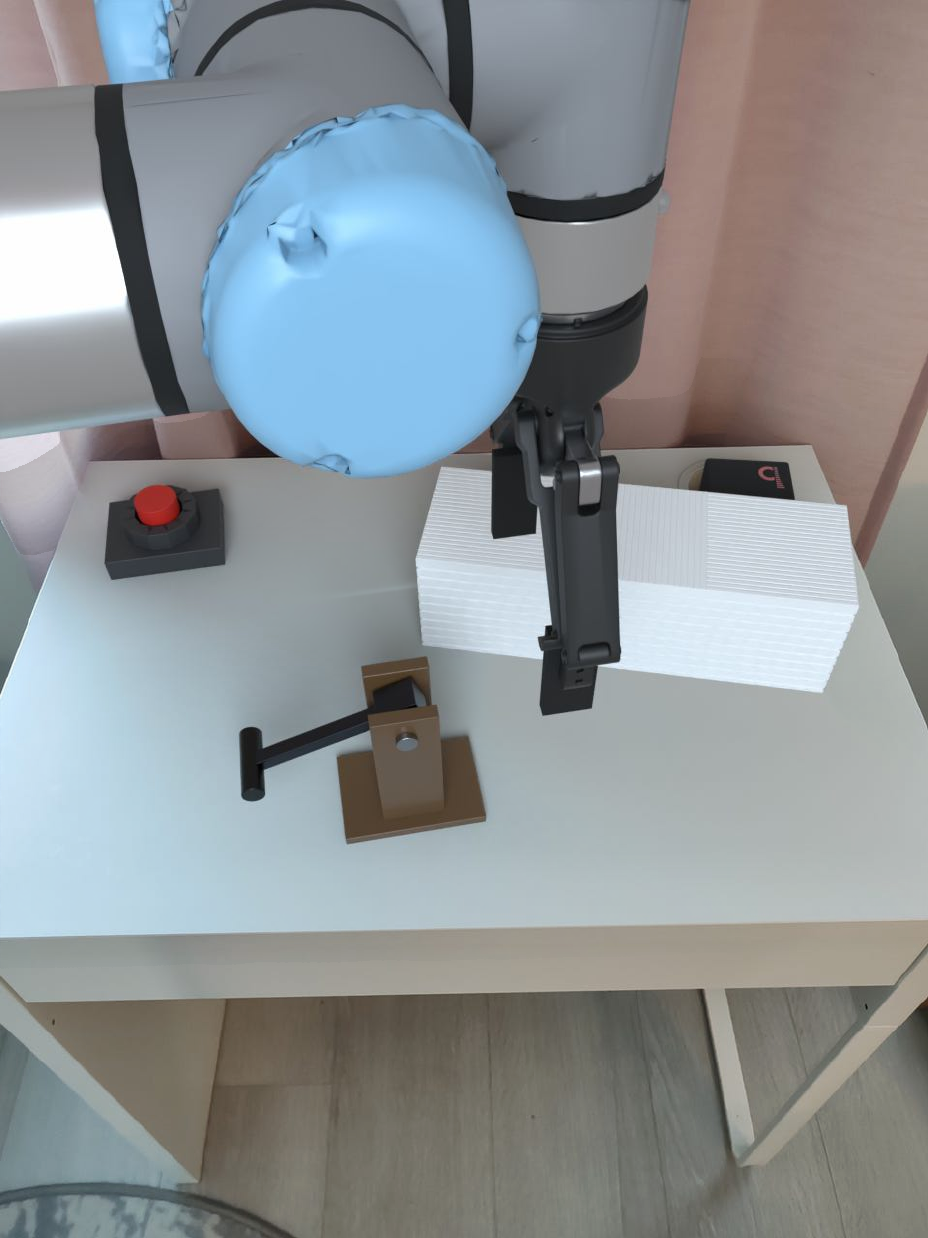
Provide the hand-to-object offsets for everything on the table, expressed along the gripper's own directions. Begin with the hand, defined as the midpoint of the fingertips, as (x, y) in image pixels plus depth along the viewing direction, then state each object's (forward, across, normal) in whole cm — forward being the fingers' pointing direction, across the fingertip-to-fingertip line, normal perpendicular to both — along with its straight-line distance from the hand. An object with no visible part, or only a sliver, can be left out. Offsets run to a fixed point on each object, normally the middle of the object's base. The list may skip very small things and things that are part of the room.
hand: (537, 613), depth 58 cm
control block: (+20, +32, +26) cm, 46 cm away
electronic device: (+20, +22, -25) cm, 39 cm away
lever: (+12, +2, +13) cm, 18 cm away
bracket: (+20, +2, +8) cm, 22 cm away
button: (+17, +32, +26) cm, 45 cm away
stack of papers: (+20, +15, -12) cm, 28 cm away
